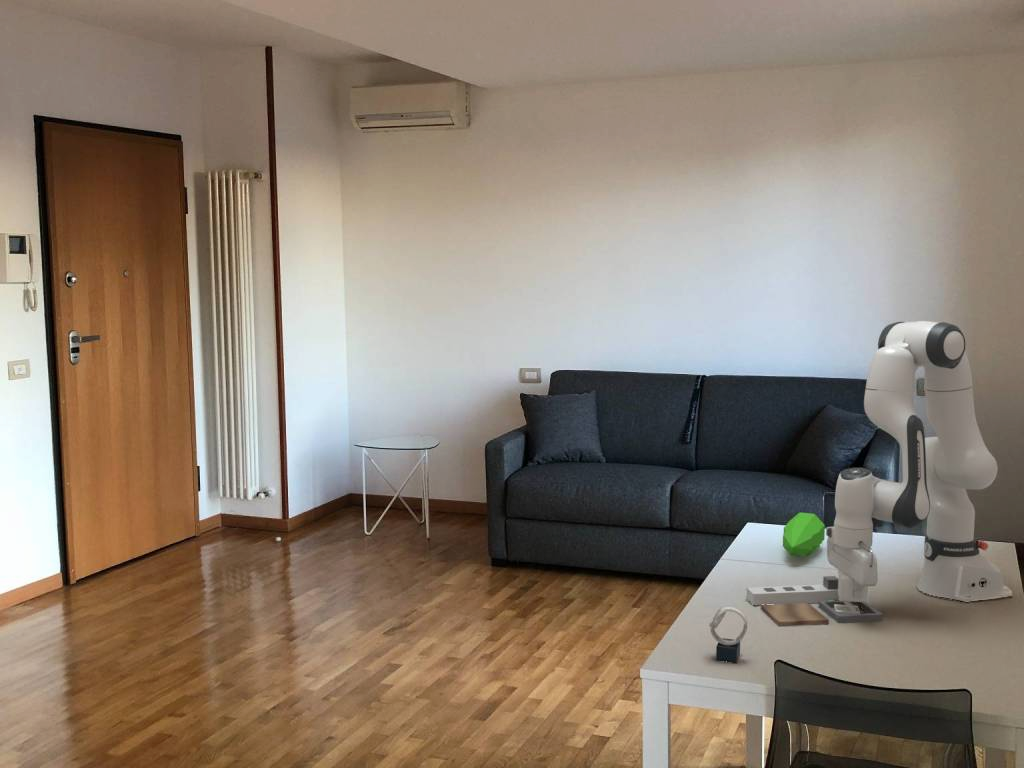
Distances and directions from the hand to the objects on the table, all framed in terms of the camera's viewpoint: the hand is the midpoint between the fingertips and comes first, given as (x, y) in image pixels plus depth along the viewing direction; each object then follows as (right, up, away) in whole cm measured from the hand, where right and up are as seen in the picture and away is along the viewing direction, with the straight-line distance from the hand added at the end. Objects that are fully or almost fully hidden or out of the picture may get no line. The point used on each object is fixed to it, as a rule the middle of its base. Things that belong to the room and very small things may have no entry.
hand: (850, 593), depth 254 cm
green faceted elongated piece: (+1, +1, +50) cm, 50 cm away
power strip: (-11, -4, +9) cm, 14 cm away
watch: (-35, -9, -27) cm, 45 cm away
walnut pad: (-14, -5, -1) cm, 15 cm away
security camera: (0, -5, +1) cm, 5 cm away
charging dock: (0, -5, +1) cm, 5 cm away
